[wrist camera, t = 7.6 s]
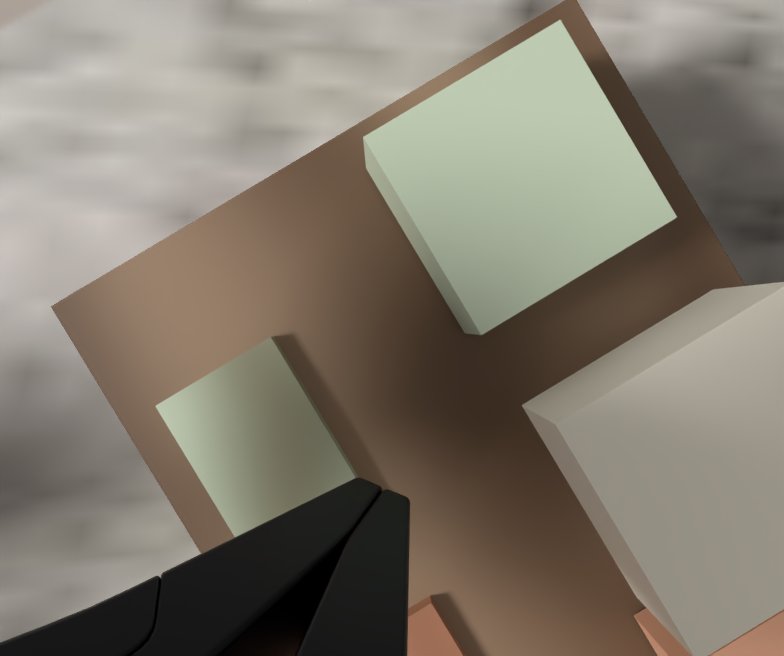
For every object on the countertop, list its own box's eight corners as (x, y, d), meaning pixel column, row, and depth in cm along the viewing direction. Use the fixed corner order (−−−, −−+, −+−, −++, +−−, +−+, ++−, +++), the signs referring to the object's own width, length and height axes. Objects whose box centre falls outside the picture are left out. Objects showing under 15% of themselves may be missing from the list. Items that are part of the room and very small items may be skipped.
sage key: (464, 333, 15) (481, 335, 12) (365, 168, 14) (362, 136, 12) (628, 235, 15) (676, 217, 12) (530, 69, 15) (560, 19, 12)
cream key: (636, 596, 12) (697, 661, 10) (521, 405, 12) (555, 424, 10) (826, 480, 12) (932, 518, 10) (713, 289, 12) (792, 281, 10)
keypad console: (437, 772, 22) (466, 1003, 14) (158, 312, 21) (41, 305, 14) (783, 560, 22) (989, 680, 14) (511, 101, 22) (579, -15, 14)
